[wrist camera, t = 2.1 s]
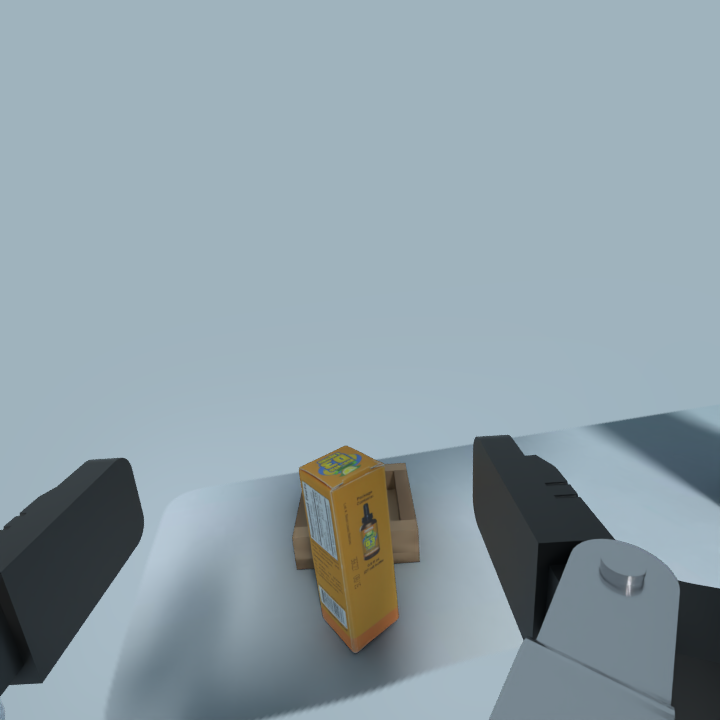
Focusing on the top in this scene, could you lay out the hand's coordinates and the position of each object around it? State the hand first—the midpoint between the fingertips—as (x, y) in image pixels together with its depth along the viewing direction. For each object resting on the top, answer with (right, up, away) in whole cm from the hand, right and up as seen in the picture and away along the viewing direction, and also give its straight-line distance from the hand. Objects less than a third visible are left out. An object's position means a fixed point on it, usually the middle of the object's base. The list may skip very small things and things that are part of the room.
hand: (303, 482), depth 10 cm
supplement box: (+1, -12, +15) cm, 19 cm away
